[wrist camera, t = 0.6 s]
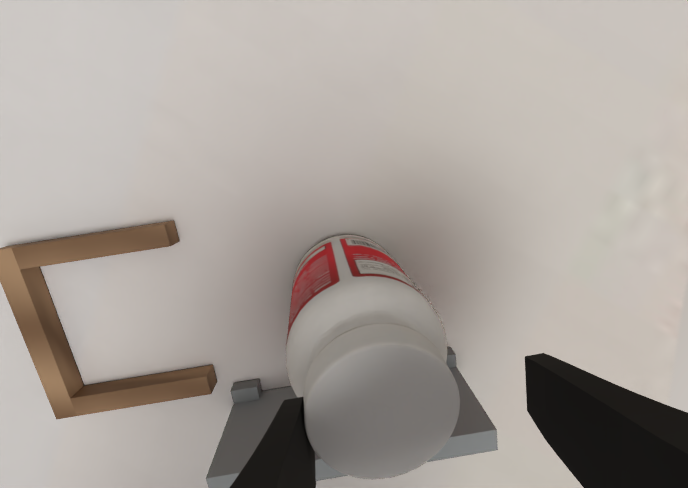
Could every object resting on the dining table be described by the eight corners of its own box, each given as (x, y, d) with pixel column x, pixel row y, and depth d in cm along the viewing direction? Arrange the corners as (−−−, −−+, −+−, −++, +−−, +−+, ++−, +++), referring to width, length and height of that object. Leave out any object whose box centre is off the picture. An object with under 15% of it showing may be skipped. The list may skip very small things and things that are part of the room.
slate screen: (454, 387, 23) (498, 464, 17) (244, 422, 23) (216, 513, 17) (450, 347, 22) (495, 413, 16) (233, 383, 22) (201, 462, 16)
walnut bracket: (217, 381, 22) (211, 393, 21) (70, 405, 22) (56, 419, 21) (173, 220, 19) (164, 224, 18) (8, 245, 19) (-12, 251, 18)
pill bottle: (307, 339, 21) (303, 521, 11) (282, 245, 20) (249, 350, 9) (404, 316, 22) (495, 472, 11) (387, 222, 20) (475, 297, 9)
